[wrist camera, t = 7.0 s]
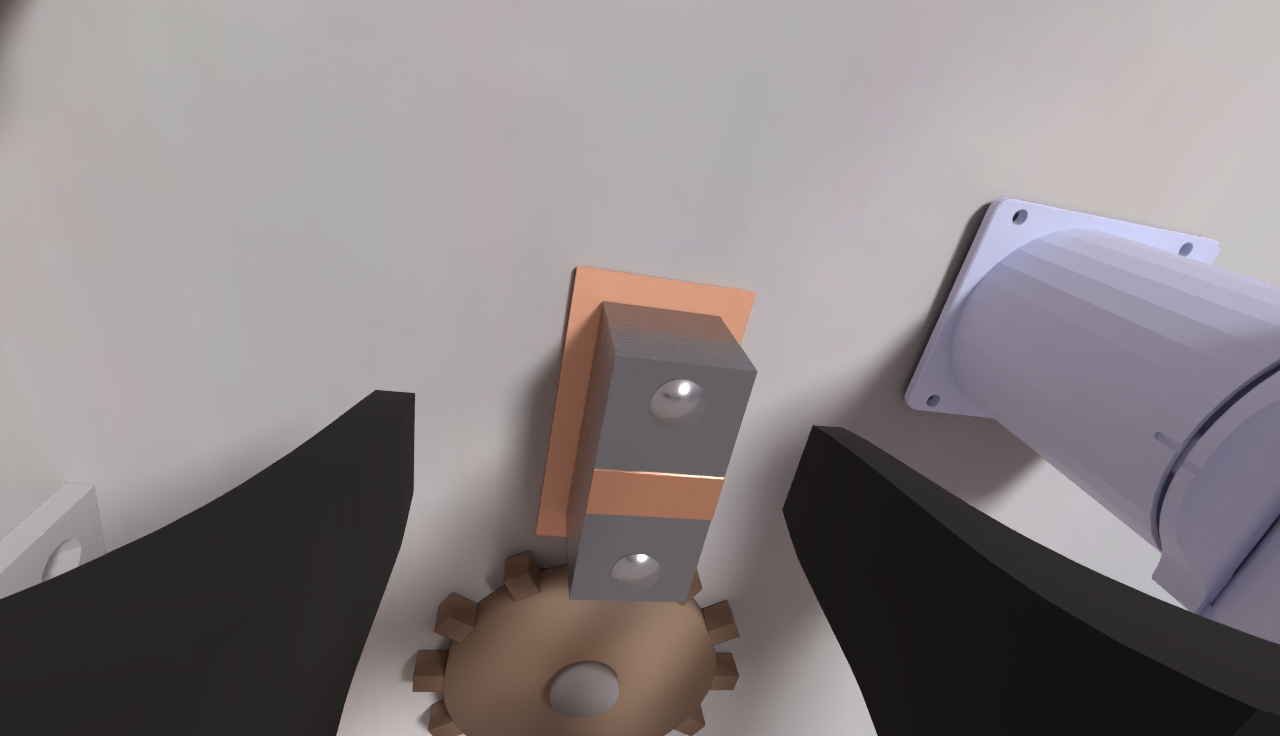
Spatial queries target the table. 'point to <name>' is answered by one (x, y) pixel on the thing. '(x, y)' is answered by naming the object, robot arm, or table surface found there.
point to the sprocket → (573, 661)
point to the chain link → (652, 451)
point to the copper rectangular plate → (580, 352)
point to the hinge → (52, 539)
